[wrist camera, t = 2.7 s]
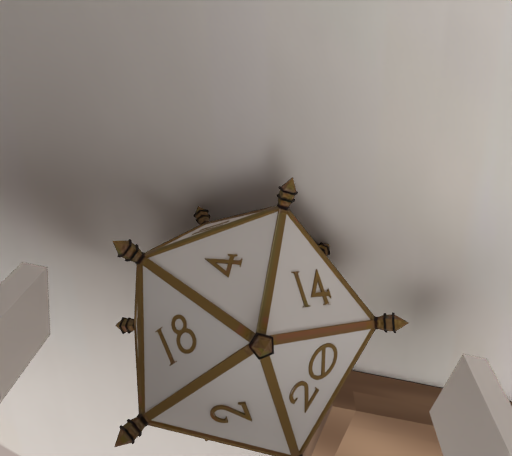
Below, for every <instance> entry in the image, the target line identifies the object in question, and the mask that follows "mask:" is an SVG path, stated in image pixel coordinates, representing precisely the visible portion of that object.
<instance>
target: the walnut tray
mask: <svg viewBox="0 0 512 456" xmlns="http://www.w3.org/2000/svg"><path fill="white" fill-rule="evenodd" d="M442 389H443V388H438V387H433V386H428V385H423V384H418V383H413V382H408V381H402V380H397V379H392V378H387V377H382V376H377V375H372V374H367V373H362V372H357V371H352V370H351V372H350V374H349V375H348V377H347V379H346V381H345V382H344V384H343V386H342V387H341V389H340V391H339V393H338V394H337V396H336V398H335V400H334V401H333V403H332V405H331V406H330V408H329V410H328V412H327V413H326V415H325V417H324V418H323V420H322V422H321V424H320V425H319V427H318V429H317V430H316V432H315V434H314V436H313V437H312V439H311V441H310V442H309V444H308V446H307V448H306V449H305V451H304V453H303V456H443V453H442V450H441V447H440V444H439V441H438V438H437V435H436V431H435V428H434V425H433V422H432V419H431V416H430V413H429V411H430V410H431V408H432V406H433V405H434V403H435V401H436V399H437V398H438V396H439V394H440V393H441V391H442ZM510 404H511V406H512V402H510Z"/></svg>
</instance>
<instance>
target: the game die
mask: <svg viewBox="0 0 512 456" xmlns="http://www.w3.org/2000/svg"><path fill="white" fill-rule="evenodd" d="M279 189H280V192H279V194H277V197H278V204H277V206H273V207H269V208H264V209H260V210H256V211H252V212H248V213H244V214H239V215H235V216H231V217H227V218H223V219H218V220H214V221H210V222H209V218H210V215H208V210H204V209H203V208H201V207H199V206H198V208H197V211H196V213H195V214H194V217H195V218H196V221H197V222H198V223H199V224H200V226H198V227H196V228H193V229H191V230H189V231H187V232H185V233H183V234H181V235H179V236H177V237H175V238H173V239H171V240H169V241H167V242H165V243H163V244H161V245H159V246H157V247H155V248H153V249H151V250H149V251H147V252H145V253H143V252H141V251H140V249H139V248H138V245H137V244H136V245H134V244H133V243H132V242H131V240H130V239H129V240H128V241H113V243H114V245H115V248H116V250H117V252H118V257H123V258H125V261H133V262H135V263H136V264H137V269H136V292H135V316H134V319H132V318H128V319H127V318H124V317H122V320H121V321H120V322H119V323H117V324H116V326H117V327H118V328H119V329H120V330H121V331H122V333H123V334H124V333H125V332H128V333H131V332H132V331H133V330H134V333H135V351H136V368H137V386H138V404H139V415H138V416H137V417H136V418H134V419H132V420H130V419H128V420H127V421H128V422H127V423H126V424H125V425H124V426H120V432H119V435H118V438H117V441H116V444H115V447H117V446H121V445H124V444H128V443H132V444H133V443H134V440H135V439H136V438H137V437H138V436H139V437H140V436H141V433H142V430H143V428H144V427H145V426H147V425H150V426H154V427H158V428H162V429H166V430H170V431H174V432H179V433H183V434H187V435H191V436H195V437H199V438H203V439H205V441H207V440H211V441H215V442H219V443H223V444H228V445H232V446H236V447H240V448H244V449H248V450H252V451H256V452H260V453H264V454H268V455H272V456H303V453H304V451H305V449H306V448H307V446H308V444H309V442H310V441H311V439H312V437H313V436H314V434H315V432H316V430H317V429H318V427H319V425H320V424H321V422H322V420H323V418H324V417H325V415H326V413H327V412H328V410H329V408H330V406H331V405H332V403H333V401H334V400H335V398H336V396H337V394H338V393H339V391H340V389H341V387H342V386H343V384H344V382H345V381H346V379H347V377H348V375H349V374H350V372H351V370H352V369H353V367H354V365H355V363H356V362H357V360H358V358H359V357H360V355H361V353H362V351H363V350H364V348H365V346H366V345H367V343H368V341H369V339H370V338H371V336H372V334H373V333H374V331H375V329H381V330H384V331H385V332H387V331H393V332H394V333H396V331H397V330H398V329H400V328H402V327H403V326H405V325H406V324H408V322H406V321H405V320H403V319H401V318H399V317H398V316H396V315H394V313H392V315H386V313H384V315H383V316H380V317H375V316H374V315H373V314H372V313H371V312H370V310H369V309H368V308H367V307H366V305H365V304H364V303H363V302H362V300H361V299H360V298H359V297H358V295H357V294H356V293H355V292H354V290H353V289H352V288H351V287H350V285H349V284H348V283H347V281H346V280H345V279H344V278H343V276H342V275H341V274H340V273H339V271H338V270H337V269H336V268H335V266H334V265H333V264H332V263H331V261H330V260H329V259H328V258H327V256H326V255H330V251H329V244H323V243H320V244H319V246H318V245H317V244H316V243H315V241H314V240H313V239H312V238H311V236H310V235H309V234H308V233H307V231H306V230H305V229H304V228H303V226H302V225H301V224H300V223H299V221H298V220H297V219H296V217H295V216H294V215H293V214H292V212H291V211H290V210H289V206H290V204H291V203H292V202H294V201H295V199H294V196H295V195H296V194H297V193H298V192H297V191H296V188H295V184H294V180H293V178H292V179H290V180H289V181H288V182H287V183H285V184H284V185H283V186H282V187H280V186H279Z"/></svg>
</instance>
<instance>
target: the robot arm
mask: <svg viewBox="0 0 512 456" xmlns="http://www.w3.org/2000/svg"><path fill="white" fill-rule="evenodd" d="M49 335H50V318H49V295H48V271H47V267H44V266H39V265H34V264H29V263H24V262H22V263H21V264H20V265H19V266H18V267H17V268H16V269H15V270H14V271H13V272H12V273H11V274H10V275H9V276H8V277H7V278H6V279H5V280H4V281H3V282H2V283H1V284H0V403H1V402H2V400H3V399H4V397H5V396H6V395H7V393H8V392H9V390H10V389H11V388H12V386H13V385H14V384H15V382H16V381H17V379H18V378H19V377H20V375H21V374H22V372H23V371H24V370H25V368H26V367H27V366H28V364H29V363H30V361H31V360H32V359H33V357H34V356H35V355H36V353H37V352H38V350H39V349H40V348H41V346H42V345H43V343H44V342H45V341H46V339H47V338H48V337H49ZM429 413H430V416H431V419H432V422H433V425H434V428H435V431H436V435H437V438H438V441H439V444H440V447H441V450H442V453H443V456H512V406H511V404H510V402H509V400H508V398H507V396H506V394H505V392H504V391H503V389H502V387H501V385H500V383H499V381H498V379H497V377H496V375H495V373H494V372H493V370H492V368H491V366H490V364H489V362H488V360H487V359H485V358H480V357H475V356H471V355H466V354H463V355H462V357H461V358H460V360H459V362H458V364H457V365H456V367H455V369H454V370H453V372H452V374H451V375H450V377H449V379H448V381H447V382H446V384H445V386H444V387H443V389H442V391H441V393H440V394H439V396H438V398H437V399H436V401H435V403H434V405H433V406H432V408H431V410H430V411H429Z"/></svg>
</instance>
